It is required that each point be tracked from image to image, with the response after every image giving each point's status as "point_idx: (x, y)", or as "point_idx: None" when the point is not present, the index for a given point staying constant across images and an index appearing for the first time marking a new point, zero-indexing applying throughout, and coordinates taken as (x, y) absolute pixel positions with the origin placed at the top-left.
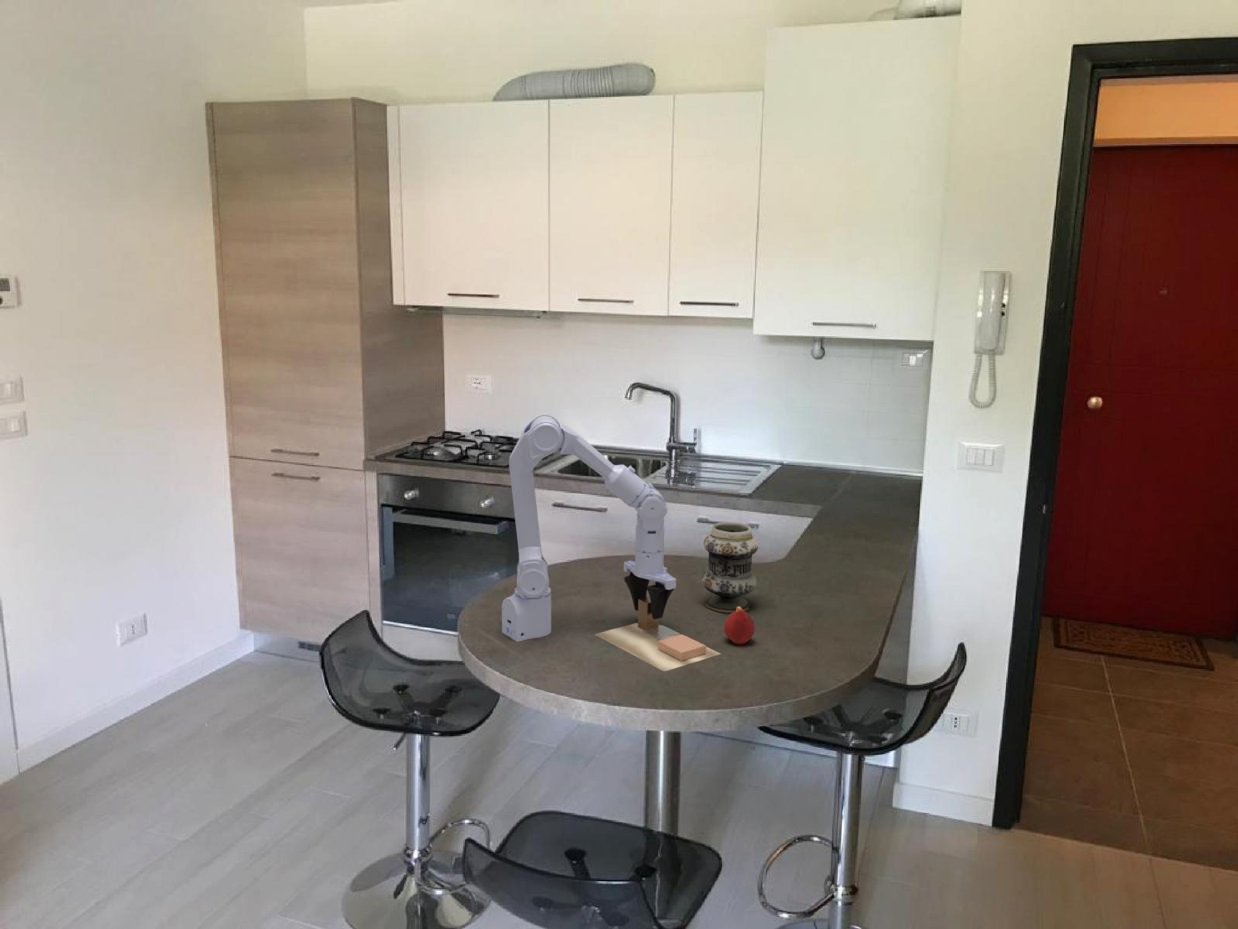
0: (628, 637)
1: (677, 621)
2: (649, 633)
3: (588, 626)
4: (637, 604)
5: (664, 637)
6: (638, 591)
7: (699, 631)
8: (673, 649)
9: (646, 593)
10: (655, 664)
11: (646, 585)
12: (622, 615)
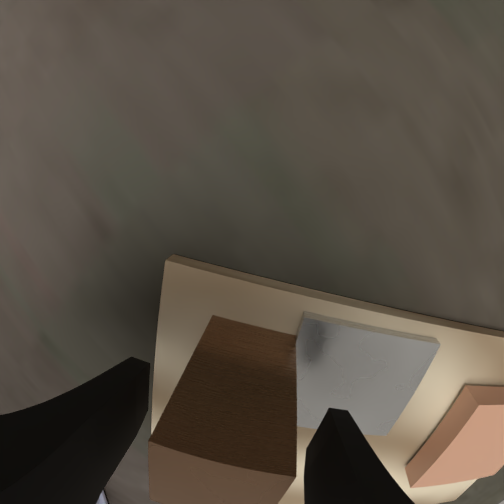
0: None
1: (274, 112)
2: (314, 428)
3: None
4: (131, 434)
5: (395, 418)
6: (85, 493)
7: (455, 170)
8: (469, 478)
9: (87, 420)
10: (428, 501)
11: (43, 475)
12: (38, 250)
